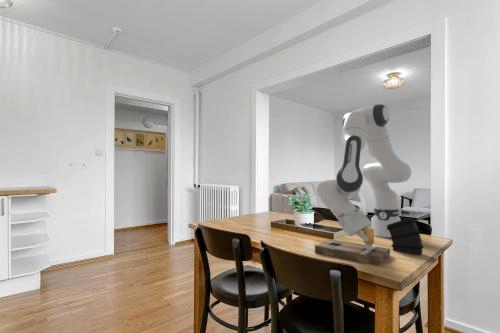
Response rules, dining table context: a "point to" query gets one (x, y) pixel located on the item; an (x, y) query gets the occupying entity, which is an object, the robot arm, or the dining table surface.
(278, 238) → the dining table surface
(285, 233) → the dining table surface
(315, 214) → the pine cone
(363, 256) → the board
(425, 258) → the dining table surface
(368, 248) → the wooden block
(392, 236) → the magazine
